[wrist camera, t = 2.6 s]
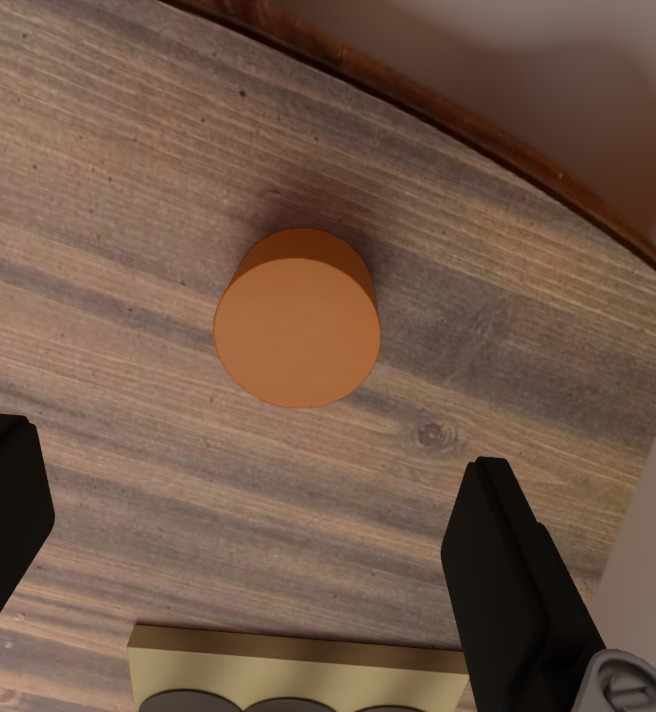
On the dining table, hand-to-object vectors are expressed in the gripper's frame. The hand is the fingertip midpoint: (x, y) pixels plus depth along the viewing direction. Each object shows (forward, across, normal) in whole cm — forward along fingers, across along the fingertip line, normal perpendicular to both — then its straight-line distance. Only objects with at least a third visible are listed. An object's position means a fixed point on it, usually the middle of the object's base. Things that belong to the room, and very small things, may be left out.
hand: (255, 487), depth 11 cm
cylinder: (+12, -1, 0) cm, 12 cm away
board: (+12, -3, +32) cm, 34 cm away
